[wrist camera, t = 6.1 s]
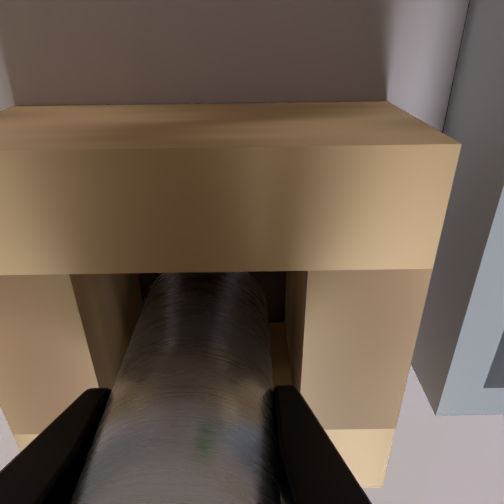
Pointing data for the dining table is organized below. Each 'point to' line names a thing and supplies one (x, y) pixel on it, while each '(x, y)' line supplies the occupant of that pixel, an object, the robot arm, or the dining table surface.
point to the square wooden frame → (222, 245)
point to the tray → (470, 236)
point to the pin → (190, 401)
